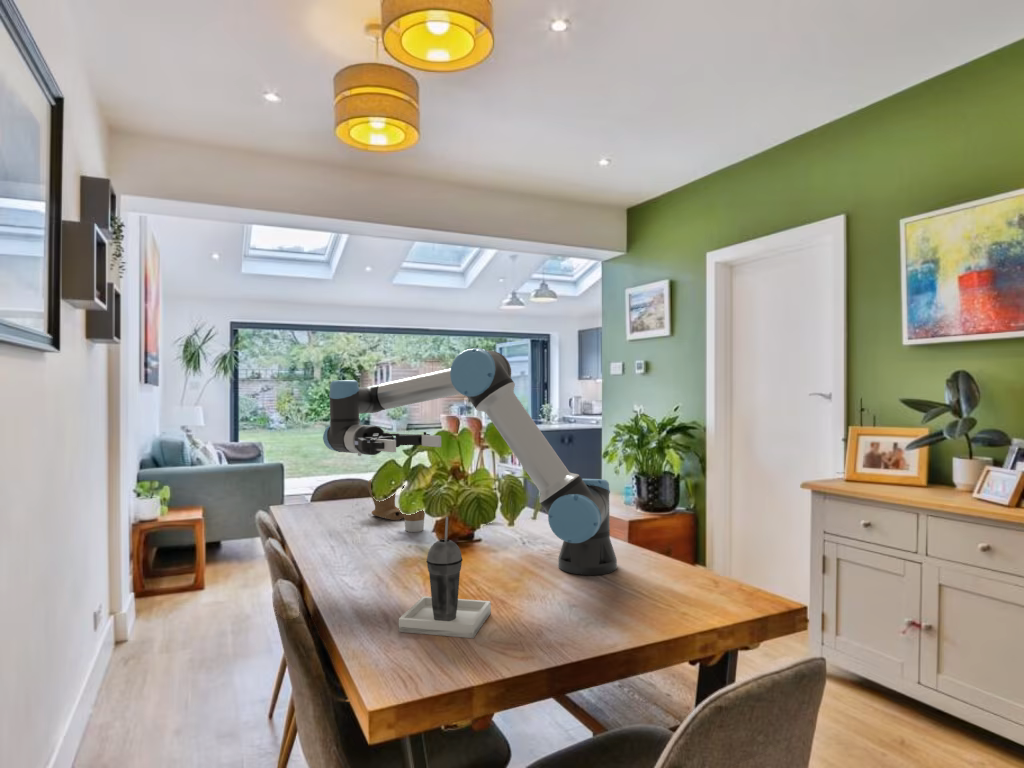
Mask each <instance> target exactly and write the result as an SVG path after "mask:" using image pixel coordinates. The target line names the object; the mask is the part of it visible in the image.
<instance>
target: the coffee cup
mask: <svg viewBox="0 0 1024 768" xmlns="http://www.w3.org/2000/svg"><path fill="white" fill-rule="evenodd" d="M405 485H406V484H405ZM405 485H402V487H401V490H402V489H403V488H404V486H405ZM425 514H426V512H425V513H424V511H423V510H422V511H419V512H417V513H415V514H411V515H406V514H404V518H403V519H404V527H405V529H404V530H405V531H406V532H407V531H408V532H407V533H418V532H422V531H424V527H425V516H426V515H425Z"/></svg>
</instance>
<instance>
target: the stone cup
mask: <svg viewBox="0 0 1024 768" xmlns="http://www.w3.org/2000/svg"><path fill="white" fill-rule="evenodd" d="M372 479H373V478H371V479H369V480H368V481H367V489H368V492H369V495H370V497H371V499H372V501H373V504H374V509H373V510H372V511H371V514H372V516H376V517H378V518H383V519H385V520H392V521H399V520H403V519H404V514H402V513H401V512H400V510H399V509H400V508H399V507H398V506H396V493H395V494H394V495H393V496H391V497H390V498H388V499H386V500H384V501H380V502H379V501H376V500H375V499H374V498H373V495H372V490H371V480H372Z"/></svg>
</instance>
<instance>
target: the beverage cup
mask: <svg viewBox="0 0 1024 768" xmlns="http://www.w3.org/2000/svg"><path fill="white" fill-rule="evenodd" d="M444 528H445V529H444V539H439V540H437V541H436V542H434V543H433V544H432V545H431V546H430V548H429V549H428V552H427V557H426V562H425V563H426V564H427V570H428V574H429V576H428V577H429V583H430V585H429V586H430V594H431V596H430V597H431V598H432V609H433V615H434V620H438V621H452V620H454V619H455V618H456V612H457V604H458V599H459V590H460V589H459V587H460V577H461V576H460V575H461V574H460V572H461V570H462V566H463V565H462V563H463V556H462V552H461V549H460V547H459V546H458V545H457V543H456V542H454V541H453V540H451V539H448V533H449V532H448V528H449V516H446V517H445V527H444Z"/></svg>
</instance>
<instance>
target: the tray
mask: <svg viewBox="0 0 1024 768" xmlns="http://www.w3.org/2000/svg"><path fill="white" fill-rule="evenodd" d="M491 602H492V601H491V600H480V599H477V600H476V599H466V598H465V599H464V598H458V604H457V612H456V618H455V619H454V620H452V621H438V620H434V615H433V609H432V598H431V596H423V595H422V596H421V598H419V599H418V600H417V601H416V602H415V603H414V604H413V605H412V606H411V607H410V608H408V610H406V612H404V613H403V614H402V615H401V616H400V617H399V618H398V632H399V633H405V634H406V633H408V634H419V635H420V634H421V635H428V636H429V635H433V636H443V637H454V638H455V637H456V638H466V639H468V638H469V639H474V638H475V637H476V635H477V634H478V632H479V631H480V630H481V628H482V626H483V625H484V624H485V623H486V621H485V620H487V619H488V618H489V616H490V615H491V613H492V612H491V611H492V610H491V609H492V606H491V605H492V604H491ZM483 623H484V624H483Z"/></svg>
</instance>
